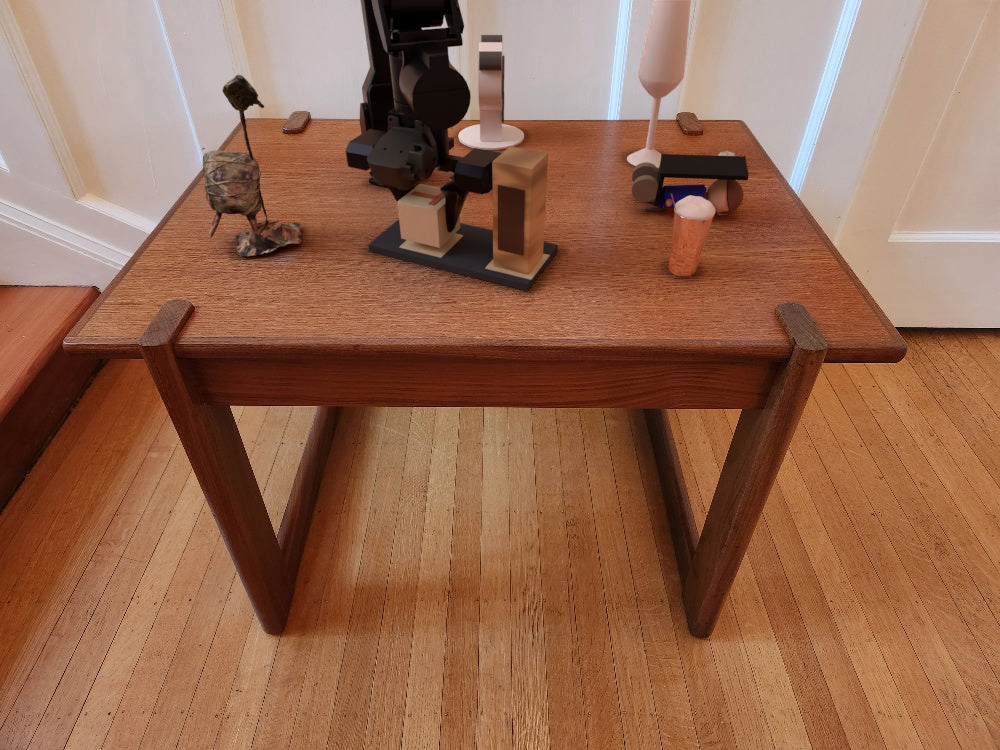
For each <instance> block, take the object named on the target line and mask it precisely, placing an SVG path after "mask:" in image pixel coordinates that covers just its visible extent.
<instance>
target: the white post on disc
mask: <svg viewBox="0 0 1000 750" xmlns="http://www.w3.org/2000/svg"><path fill="white" fill-rule="evenodd" d="M477 58H478V59H477V60H478V61H477V64H478V65H477V78H478V79H477V84H478V86H477V90H478V108H479V123H478V124H473V125H470V126H467V127H464V128H462V129H461V130H460V131H459V133H458V136H457V137H458V141H459V142H460V143H461V144H462V145H464V146H466V147H468V148H471V149H474V148H478V149H483V150H489V151H499V150H507V149H508V148H509V147H516V146H519V145H520V144H522V143H523V141H524V140H525V133H524V132H523V130H521V129H520V128H518V127H516V126H513V125H510V124H505V55H503V34H480V41H479V43H478V57H477Z"/></svg>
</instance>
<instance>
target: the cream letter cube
mask: <svg viewBox="0 0 1000 750" xmlns="http://www.w3.org/2000/svg"><path fill="white" fill-rule="evenodd" d="M440 188H441V187H439V186H435V185H434V186H433V185H429V184H424V183H418V184H417V185H415V188H414V189H413V190H411V191H410V192H409V193H408V194H406V195H405V196H404V197H402V198H401V199H400V200H399V201H396V205H397V213H398V220H399V223H400V231H401V239H405V240H409V241H413V242H417V243H421V244H425V245H430V246H434V247H438V248H440V247H441V246H442V245H443V244H444V243H445V242H446V241H448V240H449V239H450V238H451V237H452V236H453V235H454V234H455V233H456V232H457V231H458V230H459V229H460V223H461V214H460V215H459V218H458V221H457V223H456V226H455V228H454V230H453V231H452V232H448V230H447V224H446V203H445V195H444V194H443V193H442V192H441V190H440Z"/></svg>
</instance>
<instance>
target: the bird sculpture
mask: <svg viewBox="0 0 1000 750" xmlns="http://www.w3.org/2000/svg"><path fill="white" fill-rule="evenodd" d="M222 93H223V95H224V96H225V98H226V99H227V101H228V103H229V104H230V105H231V107H232V108H233V109H234V110H235V111H238V112H239V113H238V114H239V120H240V122H241V123H240V124H241V125H242V129H243V137H244V141H245V145H246V149H247V151H248V153H247V152H239V151H238V152H234V151H227V150H226V151H225V150H224V151H223V150H220V149H213V150H210V151H208V152H205V153H204V154H203V156H202V170H203V173H204V175H203V178H204V180H205V184H204V187H203V189H204V190H205V195H206V196H205V199H206V201H207V203H208V206H210V208H211V209H212V210H213V211H216V213H215V215H214V218H213V221H212V223H211V228H210V230H209V233H208V238H210V239H211V238H213V237H214V235H215V233H216V231H217V228H218V226H219V224H220V223H221V222H220V221H221V218H222V215H223V214H226V215H241V216H243V217H246V220H247V221H248V222H249V226H250V227H251V228H250V229H249V230H248V229H245V230H242V231H241V232H239V233H237V234H235V238H234V240H235V244H236V247H235V248H236V251H237V253H238V256H240V257H246V258H247V257H251V256H257V255H263V254H264V253H265V254H268V253H271V252H273V251H275V250H277V249H278V248H279V247H285V246H287V245H289V244H290V245H291V244H297V245H299V244H300V243H301V242H302V241H303V239H302V238H303V236H302V234H303V232H304V230H302V228H301V225H302V224H301V223H300V222H296V221H293V222H289V223H287V224H286V223H282V222H280V220H279V219H278V217H275V216H274V217H269V218H268V215H267V210H266V207H265V204H264V199H263V196H262V192H261V176H262V172H261V170H260V164H259V163H258V161H257V159H256V158H255V157H254V156H253V152H252V147H251V143H250V140H249V135H248V131H247V128H248V127H247V123H246V116H245V111H247V110H248V109H249V108H250V107H254V105H258V107H259V108H261V109H264V108H265V104H263V103H262V102H261V100H259V98H258V97H259V94H258V92H257V91H256V89H255V87H254V86H252V84H251V83H250V82H249V81H248V80H247V78H245V76H244V75H242V74H236V75H235V76H234V77H232V78H231V79H230V80H228V81H227V82H226V83H225V84H224V85H223V87H222ZM205 149H206V148H205V147H202V148H201V150H205ZM261 210H262V211H263V213H264V216H265V219H263V220H260V221H258V217H257V214H258V213H259V212H260V211H261Z"/></svg>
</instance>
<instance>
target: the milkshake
mask: <svg viewBox="0 0 1000 750" xmlns="http://www.w3.org/2000/svg"><path fill="white" fill-rule="evenodd" d="M671 196H672V194H671ZM672 200H673V196H672ZM673 204H674V208H673V221H672V236H671V243H670V244H671V245H670V253H669V254H670V255H669V261H668V272H670V273H672V274H673V275H675V276H679V277H691V276H693V275H694V274H695V273H696V272H697V268H698V266H699V261H700V258H701V255H702V253H703V249H704V246H705V243H706V240H707V237H708V234H709V231H710V229H711V225H712V223H713V220H714V217H715V214H716V213H715V208H714V206H713V205H712V203H711V202H710V201H708V200H706V199H704V198H703V197H700V196H692V195H690V196H687V197H685V198H683V199H681V200H680V201H678V202H677V203H676V204H675V203H674V200H673Z"/></svg>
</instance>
